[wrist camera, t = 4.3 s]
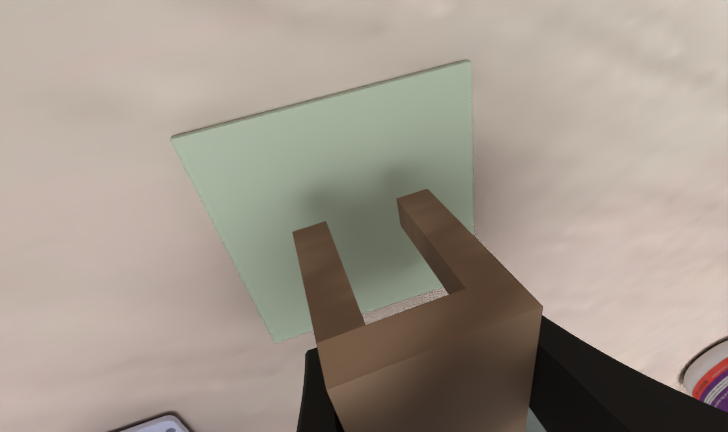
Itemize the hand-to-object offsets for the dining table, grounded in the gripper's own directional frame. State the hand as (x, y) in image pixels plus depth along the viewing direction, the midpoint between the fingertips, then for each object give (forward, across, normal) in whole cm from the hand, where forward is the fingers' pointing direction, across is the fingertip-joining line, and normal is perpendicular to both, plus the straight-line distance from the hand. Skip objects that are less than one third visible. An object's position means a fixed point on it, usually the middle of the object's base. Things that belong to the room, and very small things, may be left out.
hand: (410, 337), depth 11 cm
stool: (+3, 0, +1) cm, 3 cm away
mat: (+7, 0, 0) cm, 7 cm away
